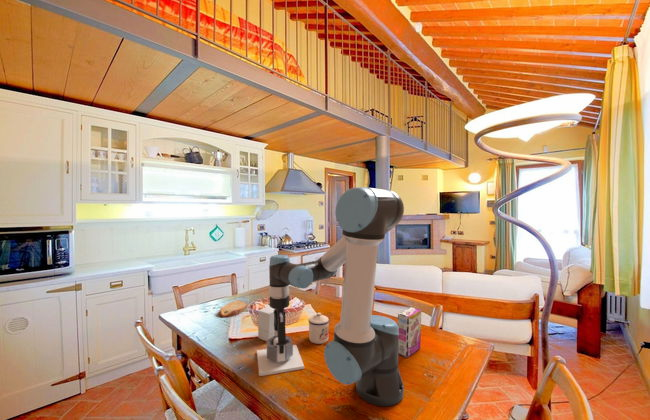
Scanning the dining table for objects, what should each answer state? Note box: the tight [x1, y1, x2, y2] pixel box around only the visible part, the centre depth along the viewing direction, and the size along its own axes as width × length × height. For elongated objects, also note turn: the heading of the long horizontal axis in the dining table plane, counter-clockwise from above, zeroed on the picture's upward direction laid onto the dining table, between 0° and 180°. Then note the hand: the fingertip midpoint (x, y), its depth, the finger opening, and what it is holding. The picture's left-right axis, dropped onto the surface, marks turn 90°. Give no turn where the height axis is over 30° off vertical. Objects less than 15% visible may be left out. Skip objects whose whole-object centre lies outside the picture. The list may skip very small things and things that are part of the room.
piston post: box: [256, 337, 305, 377], centre depth 106 cm, size 16×16×8 cm
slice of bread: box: [218, 300, 248, 319], centre depth 156 cm, size 18×18×4 cm
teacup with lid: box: [308, 312, 330, 345], centre depth 124 cm, size 12×9×12 cm
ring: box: [265, 335, 294, 362], centre depth 106 cm, size 10×10×5 cm
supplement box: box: [257, 305, 276, 342], centre depth 124 cm, size 7×7×13 cm
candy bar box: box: [397, 306, 422, 359], centre depth 113 cm, size 11×5×16 cm, turn 134°
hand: (279, 353), depth 106 cm, fingers closed on ring, 10 cm apart
